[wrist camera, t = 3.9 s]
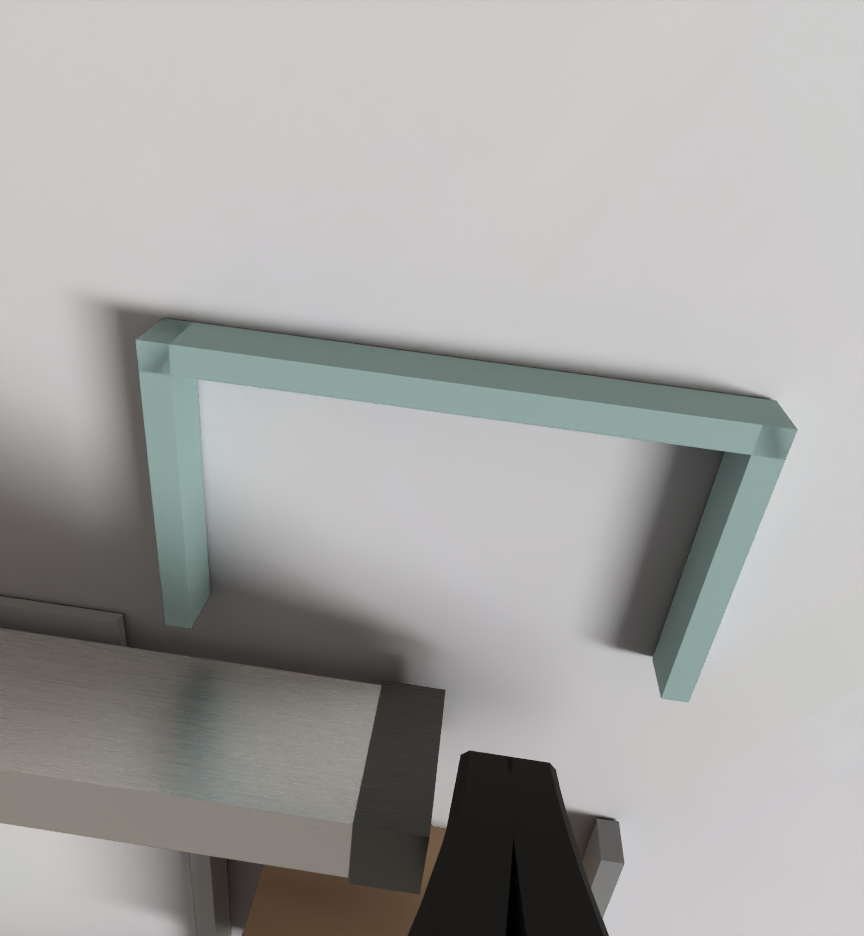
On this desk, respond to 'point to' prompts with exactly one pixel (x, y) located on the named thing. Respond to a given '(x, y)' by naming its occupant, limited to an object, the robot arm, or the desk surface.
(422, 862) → the bar
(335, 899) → the plug
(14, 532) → the desk surface
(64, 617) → the socket
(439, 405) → the frame
